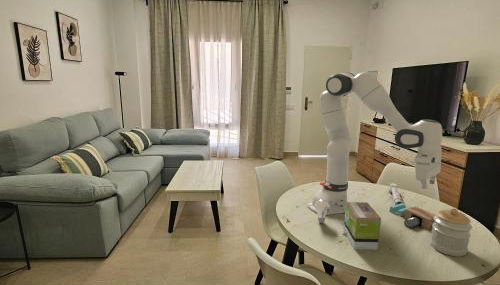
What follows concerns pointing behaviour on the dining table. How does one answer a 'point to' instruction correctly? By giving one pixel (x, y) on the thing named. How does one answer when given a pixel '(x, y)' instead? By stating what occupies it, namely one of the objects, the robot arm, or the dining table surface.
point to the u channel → (398, 209)
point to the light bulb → (322, 209)
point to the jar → (451, 232)
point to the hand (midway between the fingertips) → (428, 186)
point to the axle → (413, 222)
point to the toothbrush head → (395, 193)
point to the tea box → (362, 225)
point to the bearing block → (427, 216)
